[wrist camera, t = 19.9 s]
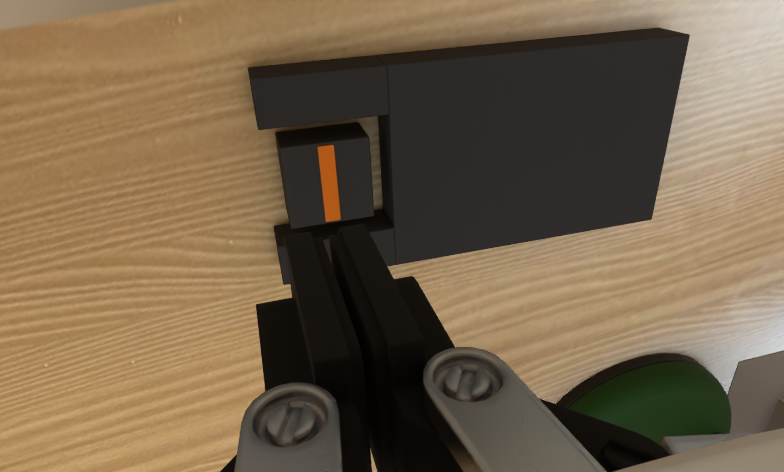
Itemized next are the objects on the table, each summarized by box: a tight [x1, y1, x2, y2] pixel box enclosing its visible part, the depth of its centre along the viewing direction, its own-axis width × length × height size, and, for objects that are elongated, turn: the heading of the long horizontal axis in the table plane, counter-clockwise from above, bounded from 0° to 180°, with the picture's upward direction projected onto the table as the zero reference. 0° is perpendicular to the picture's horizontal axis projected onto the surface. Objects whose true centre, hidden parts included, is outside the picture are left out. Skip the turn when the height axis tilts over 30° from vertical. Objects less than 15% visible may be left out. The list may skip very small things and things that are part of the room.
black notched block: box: [248, 28, 690, 285], centre depth 39 cm, size 29×14×3 cm, turn 92°
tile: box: [275, 123, 374, 229], centre depth 37 cm, size 6×6×3 cm
